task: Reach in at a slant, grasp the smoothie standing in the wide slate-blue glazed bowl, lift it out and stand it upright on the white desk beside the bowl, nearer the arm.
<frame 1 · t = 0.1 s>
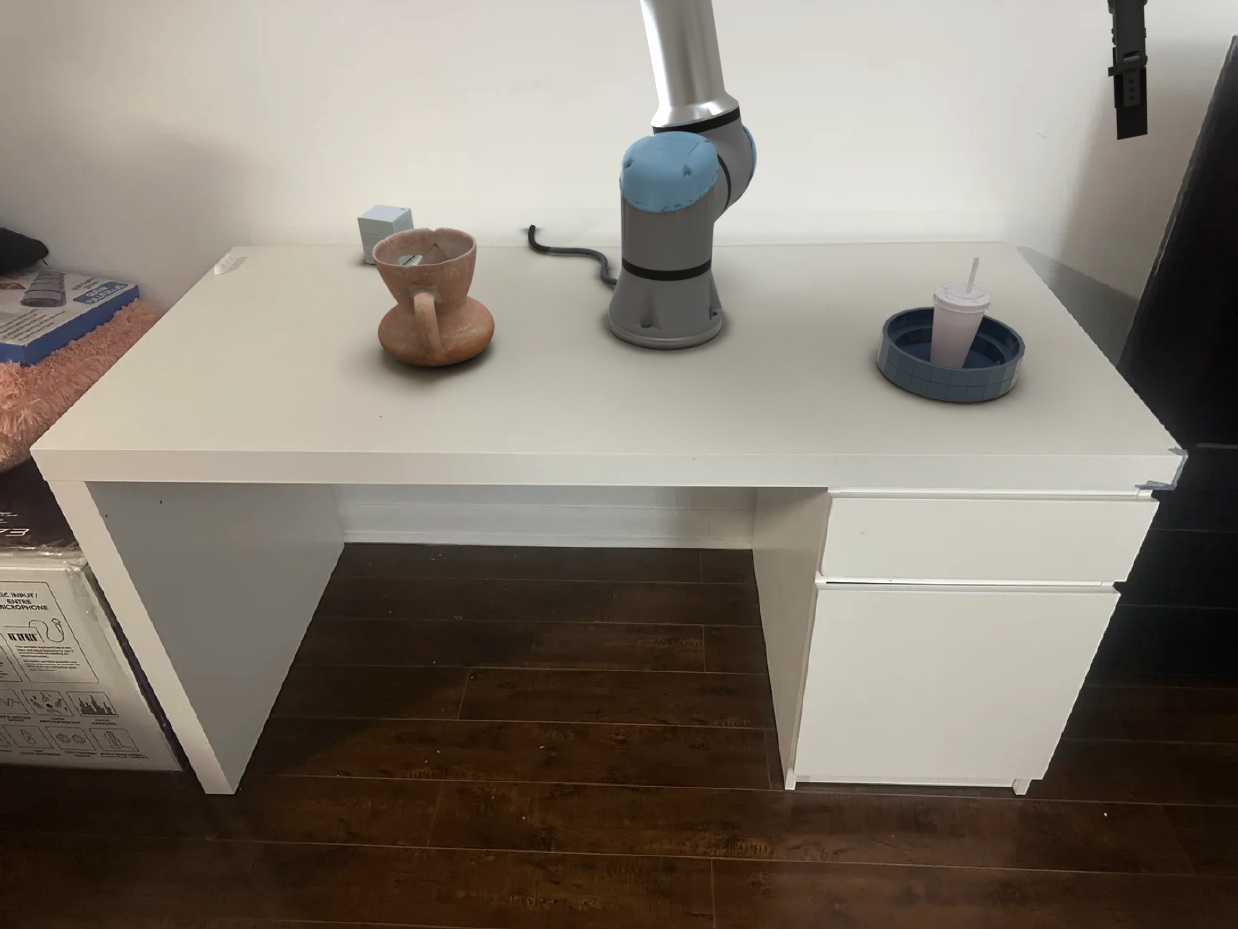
hand: (1130, 120, 95), 28 cm above the table, tool tilted 20°, fingers open, 13 cm apart
smoothie: (944, 367, 106), resting on bowl
bowl: (944, 369, 107), on the table
product box: (392, 259, 136), on the table
ceramic jug: (439, 353, 111), on the table
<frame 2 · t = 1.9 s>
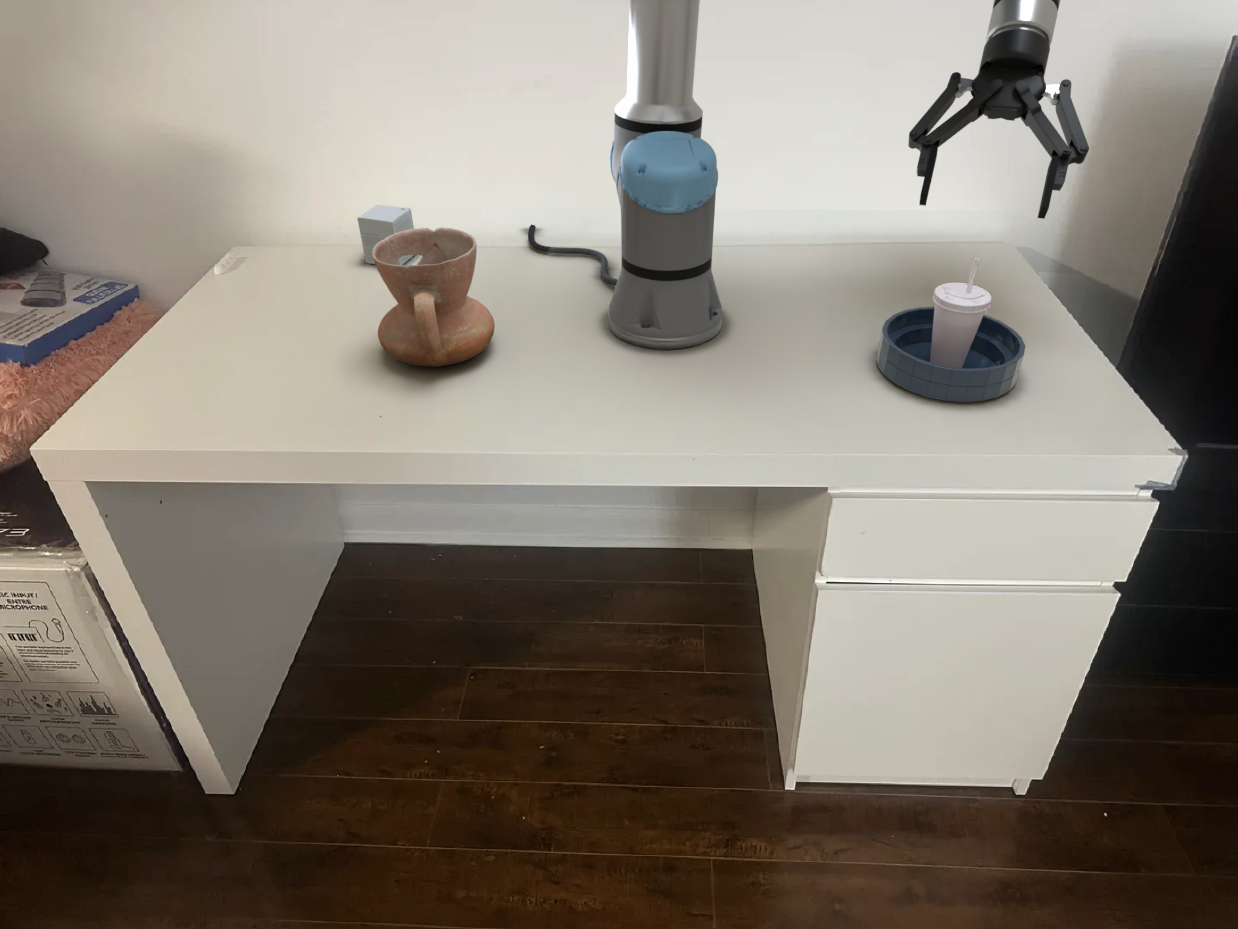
hand: (981, 206, 104), 17 cm above the table, tool tilted 45°, fingers open, 13 cm apart
nothing on the table moved.
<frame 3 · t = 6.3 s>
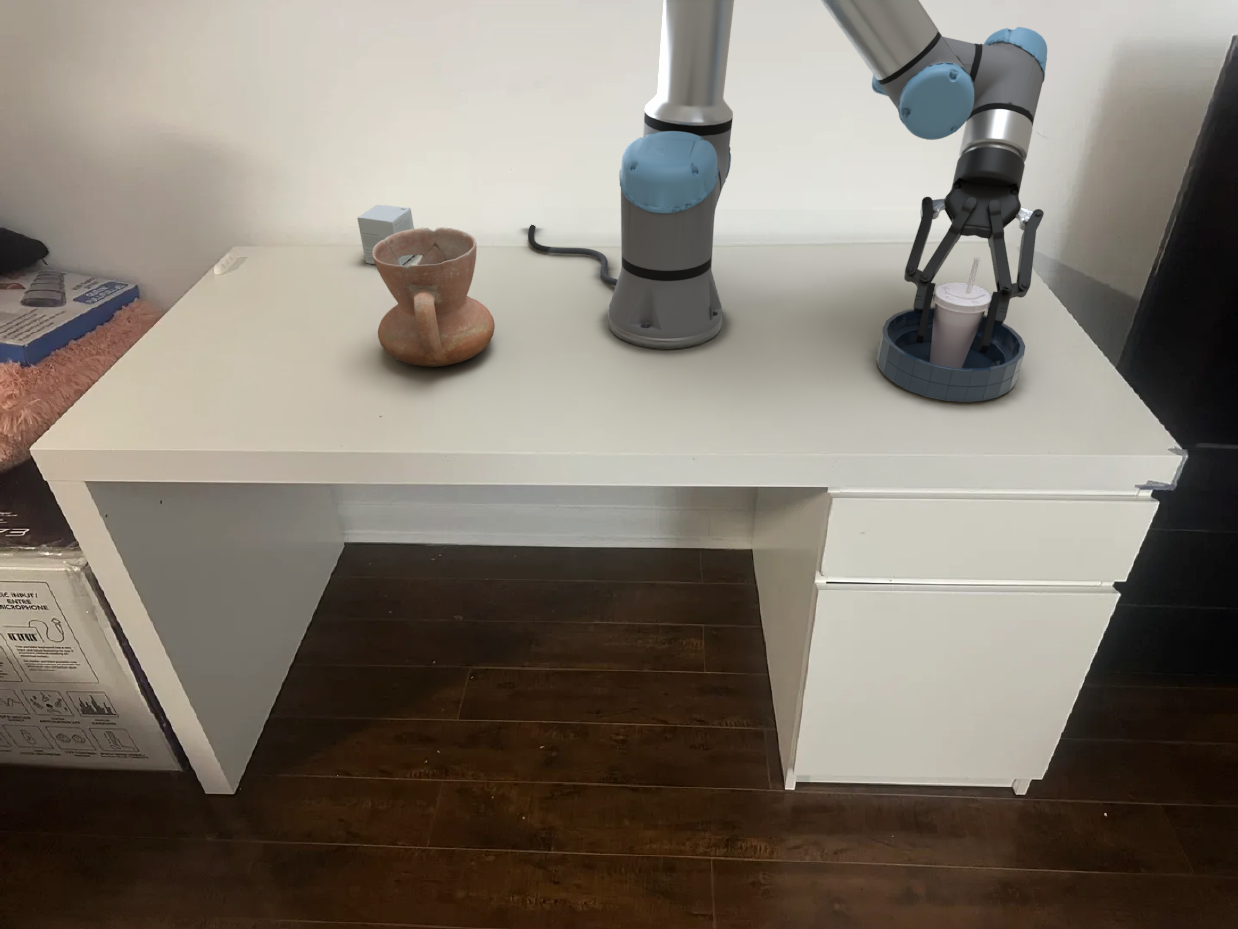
hand: (951, 343, 101), 5 cm above the table, tool tilted 45°, fingers closed on smoothie, 6 cm apart
smoothie: (944, 367, 106), resting on bowl, touching gripper
everything else where it was.
when the fingers open (5 cm above the table, at t = 14.8 s): smoothie stays where it is, on the table.
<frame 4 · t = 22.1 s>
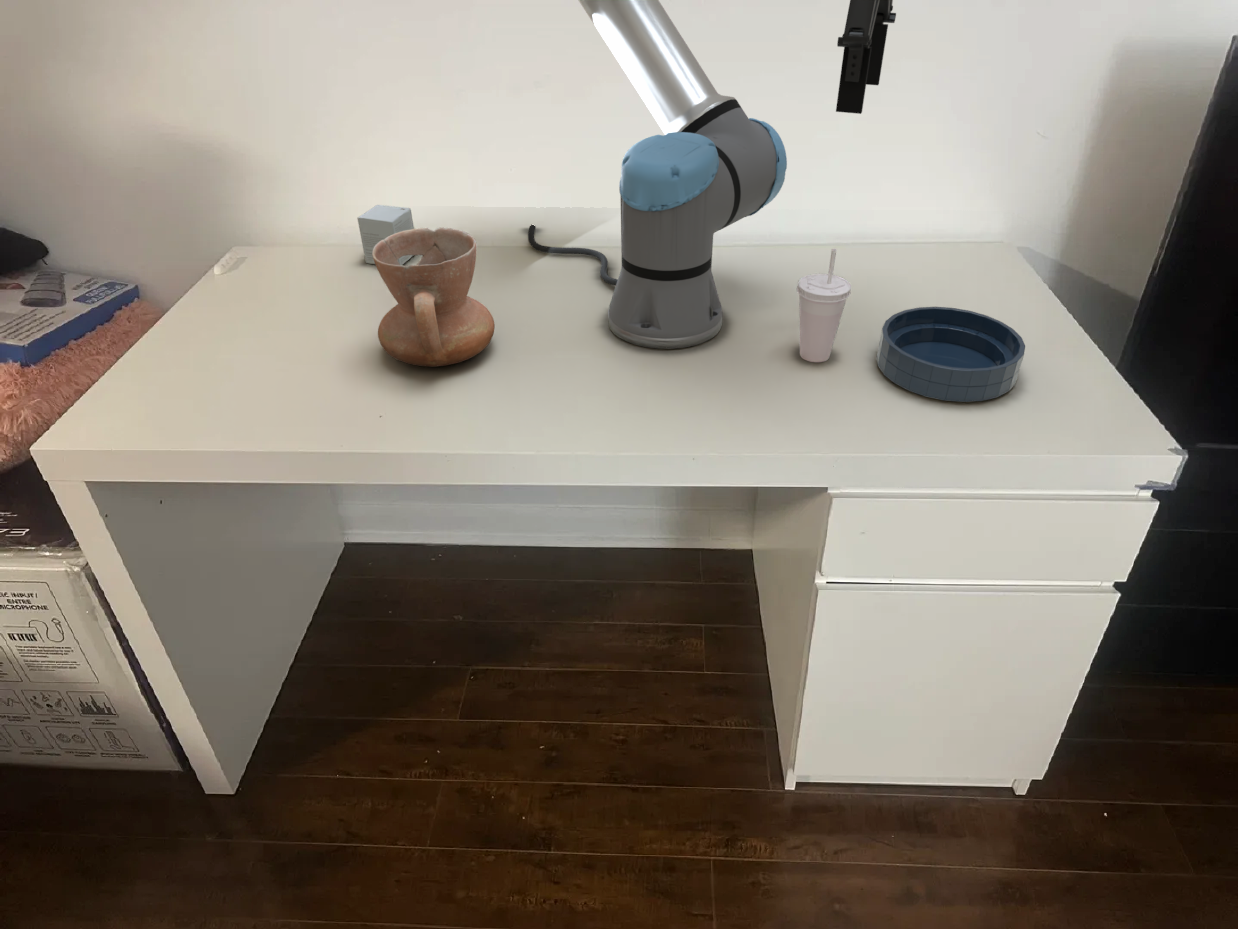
hand: (858, 97, 100), 29 cm above the table, tool pointing down, fingers open, 13 cm apart
smoothie: (814, 356, 110), on the table
everything else where it was.
at the end: smoothie inside the target area (0.1 cm from its centre), on the table; smoothie tilted 0°; the gripper is holding nothing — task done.
